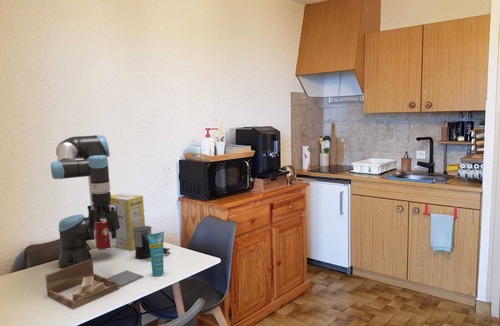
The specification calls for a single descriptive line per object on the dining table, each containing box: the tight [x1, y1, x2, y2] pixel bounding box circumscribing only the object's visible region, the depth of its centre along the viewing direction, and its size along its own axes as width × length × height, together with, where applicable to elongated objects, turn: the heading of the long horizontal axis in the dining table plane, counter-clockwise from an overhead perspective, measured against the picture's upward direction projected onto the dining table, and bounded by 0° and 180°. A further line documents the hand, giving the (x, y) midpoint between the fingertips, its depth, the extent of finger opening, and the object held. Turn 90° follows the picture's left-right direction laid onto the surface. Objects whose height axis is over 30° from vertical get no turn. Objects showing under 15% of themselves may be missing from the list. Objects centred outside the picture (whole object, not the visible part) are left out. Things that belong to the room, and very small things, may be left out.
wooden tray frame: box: [45, 259, 121, 310], centre depth 162 cm, size 20×20×9 cm
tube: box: [147, 231, 165, 277], centre depth 177 cm, size 7×5×19 cm, turn 123°
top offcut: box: [81, 276, 95, 294], centre depth 159 cm, size 4×9×3 cm, turn 18°
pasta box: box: [110, 193, 146, 252], centre depth 217 cm, size 18×10×28 cm, turn 60°
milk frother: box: [133, 225, 171, 260], centre depth 202 cm, size 14×16×15 cm
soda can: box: [94, 218, 114, 251], centre depth 167 cm, size 7×7×12 cm
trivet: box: [106, 270, 144, 288], centre depth 174 cm, size 12×12×1 cm
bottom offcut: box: [72, 280, 106, 301], centre depth 159 cm, size 5×12×4 cm, turn 159°
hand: (105, 244), depth 168 cm, fingers closed on soda can, 7 cm apart
